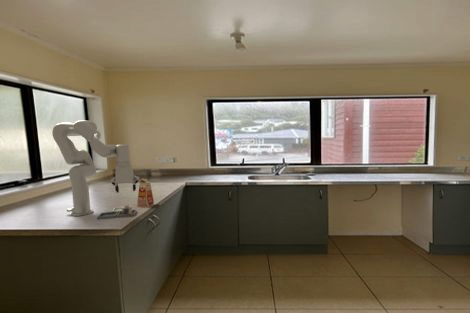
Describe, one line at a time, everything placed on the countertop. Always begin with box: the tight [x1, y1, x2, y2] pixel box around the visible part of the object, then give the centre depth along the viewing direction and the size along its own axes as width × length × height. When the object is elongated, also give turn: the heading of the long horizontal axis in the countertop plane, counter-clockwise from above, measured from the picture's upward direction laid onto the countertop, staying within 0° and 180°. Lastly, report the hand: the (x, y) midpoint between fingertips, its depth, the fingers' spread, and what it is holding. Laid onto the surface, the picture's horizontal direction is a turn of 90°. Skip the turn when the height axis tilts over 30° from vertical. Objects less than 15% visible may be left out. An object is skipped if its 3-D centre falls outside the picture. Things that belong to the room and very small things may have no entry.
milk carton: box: [136, 178, 155, 208], centre depth 192 cm, size 9×9×20 cm
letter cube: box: [121, 204, 133, 215], centre depth 170 cm, size 5×5×5 cm
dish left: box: [96, 211, 119, 220], centre depth 168 cm, size 10×10×2 cm
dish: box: [110, 206, 123, 212], centre depth 180 cm, size 10×10×2 cm
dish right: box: [116, 209, 138, 218], centre depth 170 cm, size 10×10×2 cm
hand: (126, 191), depth 169 cm, fingers open, 9 cm apart
